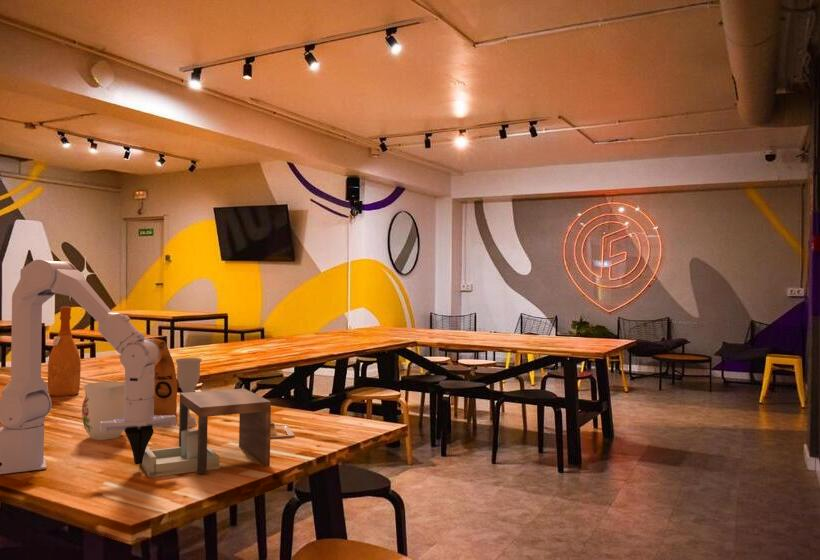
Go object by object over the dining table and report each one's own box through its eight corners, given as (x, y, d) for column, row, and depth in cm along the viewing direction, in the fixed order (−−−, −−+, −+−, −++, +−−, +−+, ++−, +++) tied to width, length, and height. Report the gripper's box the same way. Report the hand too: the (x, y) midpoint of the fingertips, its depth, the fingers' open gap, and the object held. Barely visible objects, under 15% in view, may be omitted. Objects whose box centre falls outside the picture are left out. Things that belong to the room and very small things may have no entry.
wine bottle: (51, 392, 224) (52, 305, 224) (82, 391, 226) (84, 305, 227) (44, 397, 214) (45, 306, 214) (77, 396, 217) (78, 306, 217)
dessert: (242, 432, 173) (242, 414, 173) (286, 429, 178) (287, 411, 178) (247, 442, 162) (247, 423, 162) (295, 439, 166) (295, 420, 166)
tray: (149, 477, 131) (150, 445, 131) (139, 462, 141) (140, 432, 141) (219, 468, 138) (219, 437, 138) (205, 454, 148) (205, 426, 148)
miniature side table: (199, 475, 132) (200, 407, 132) (178, 453, 149) (179, 393, 149) (269, 466, 140) (270, 401, 140) (243, 446, 156) (244, 388, 157)
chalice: (191, 428, 173) (193, 361, 174) (168, 427, 175) (170, 360, 175) (205, 423, 181) (206, 358, 181) (183, 421, 182) (184, 357, 182)
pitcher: (121, 426, 175) (122, 375, 175) (135, 440, 160) (136, 385, 160) (76, 431, 169) (77, 378, 169) (86, 446, 154) (87, 388, 154)
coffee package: (145, 418, 185) (147, 341, 185) (135, 411, 195) (137, 338, 195) (181, 415, 190) (182, 340, 191) (169, 408, 201) (171, 337, 201)
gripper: (103, 404, 128) (102, 472, 128) (179, 398, 136) (178, 463, 136) (99, 398, 134) (98, 463, 134) (172, 393, 142) (171, 455, 142)
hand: (138, 463), depth 135 cm, fingers closed
